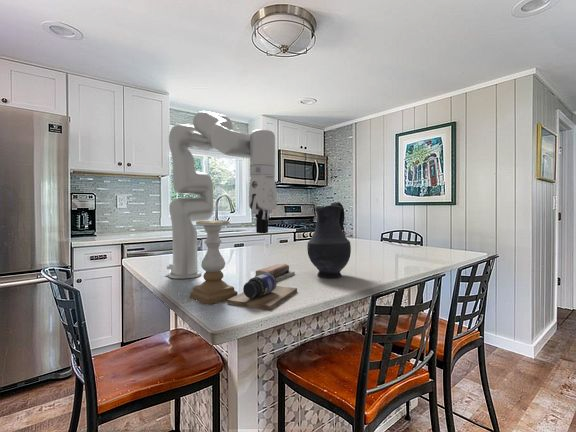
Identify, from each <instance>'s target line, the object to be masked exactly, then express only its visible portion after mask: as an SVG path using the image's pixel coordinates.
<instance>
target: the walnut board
mask: <svg viewBox="0 0 576 432" xmlns="http://www.w3.org/2000/svg"><path fill="white" fill-rule="evenodd" d="M297 292H298V288H297V287H289V286H280V285H276V288H275V289H274V290H273V291H271V292H269V293H267V294H265V295H263V296H261V297H259V298H255V297H254V298H248V297H247V296H246V295H245V294H244V291H243V292H241V293H239V294H238V293H237V295H236V296H234V297H232V298H230V299H228V300H226V301H227V302H226V303H227V305H234V306H242V307H246V308H255V309H262V310H267V311H271V310H272V309H274V308H275V307H277V306H279V305H280V304H281V303H283V302H284V301H286V300H287V299H289V298H290V297H292V296H293V295H295V294H296V293H297Z"/></svg>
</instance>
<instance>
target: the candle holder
mask: <svg viewBox="0 0 576 432" xmlns="http://www.w3.org/2000/svg"><path fill="white" fill-rule="evenodd" d="M195 224H196V226H201V227H203V229H204V231H205V232H206V236H207V237H206V239H205V240H204V244H205V245H206V248H207V251H206V254H205V255H204V257H203V258H202V260H201V264H200V265H201V266H200V267H201V268H202V270H203V271H205V272H204V273H203V279H204V280H205V281H203V282H202V283H200V285H195V286H193V287H192V290H191V291H189V298H190V299H192V300H194V301H196V300H197V301H196V302H198V301H199V303H201V304H203V305H205V306H206V305H207V306H209V305H210V306H211V305H214V304H218V303H222V302H226V301H227V300H228V299H230V298H232V297H234V296H236V295H238V291H236V290H235V287H234V286H233V285H230V284H227V282H225V281H224V280H222V279H223V278H224V273H223V272H222V270H223V269H224V268H225V267H226V261H225V258H224V257H223V255H222V254H221V252H220V249H219V248H220V246H221V244H222V240H221V238H220V232H221V230H222V229H223V226H228V225H230V221H229V220H204V221H195Z"/></svg>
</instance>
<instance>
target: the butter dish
mask: <svg viewBox="0 0 576 432" xmlns="http://www.w3.org/2000/svg"><path fill="white" fill-rule="evenodd" d="M264 273H271V274H272V275H274V277H275V278H276V281H277V283H278V282H280V281H283V280H285V279H287V278H290V277H292V276H294V275H295V274H296V272H295V271H294V270H293V271H290V265H289V264H286V263H279V264H275V265H272V266H271V265H270V266H268V267H264V268H261V269H258V270H255V275H254V277H256V276H259V275H262V274H264Z"/></svg>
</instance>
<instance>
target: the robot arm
mask: <svg viewBox="0 0 576 432" xmlns="http://www.w3.org/2000/svg"><path fill="white" fill-rule="evenodd" d="M192 124H193V125H192ZM192 124H185V123H183V124H182V123H181V124H175V125H173V126H172V127H171V129H170V131H169V136H168V145H169V151H170V152H171V158H172V185H173V186H172V187H173V190H174V192H175V193H177V194H179V195H191V196H192V195H193V196H197V197H179V198H174V199H173V200H172V201H171V202H170V204H169V208H168V209H169V210H168V211H169V215H170V221H171V227H172V228H171V230H172V231H171V232H172V233H171V234H172V263H169V264H168V266H166V269H167V270H170V273H168V277H169V278H171V279H174V280H175V279H177V280H185V279H193V278H194V279H195V278H197V277H200V276H202V271H201V270H198V267H199V266H198V232H197V228H196V226H195V225H194V224H193V222H197V221H209V220H210V219H211V218H212V216H213V213H214V185H213V179H212V177H211V175H209V173H206V172H204V171H203V172H202V171H196V162H195V158H194V155H193V154H192V152H191V151H190V150H189V148H190V149H198V150H205V151H210V150H213V149H215V150H217V151H218V152H220V153H222V154H223V155H226V156H230V157H238V158H243V159H249V177H250V179H249V186H248V207H249V209H251V214H253V215H254V217H255V218H254V219H255V221H256V228H255V229H256V231H255V232H256V233H257V234H268V233H269V219H270V214H272V213H273V210H276V209H277V207H278V206H277V199H278V198H277V185H276V179H275V178H276V135H275V133H274V132H273V131H272V130H269V129H255V130H252V131H251V133H245V132H241V131H235V130H234V128H233V122H232V120H231V119H230V117H228V116H227V115H224V114H220V113H216V112H211V111H206V110H202V111H199V112H196V114H194V116H193V118H192Z"/></svg>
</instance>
